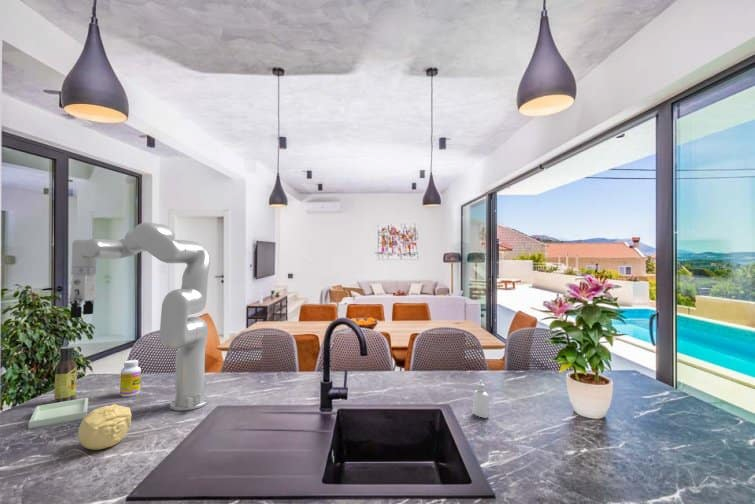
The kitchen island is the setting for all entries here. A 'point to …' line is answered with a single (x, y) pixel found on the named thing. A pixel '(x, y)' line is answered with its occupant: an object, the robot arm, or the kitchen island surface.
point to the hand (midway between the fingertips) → (82, 315)
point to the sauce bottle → (65, 376)
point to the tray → (59, 413)
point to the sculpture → (104, 427)
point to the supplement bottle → (130, 379)
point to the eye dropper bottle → (481, 401)
